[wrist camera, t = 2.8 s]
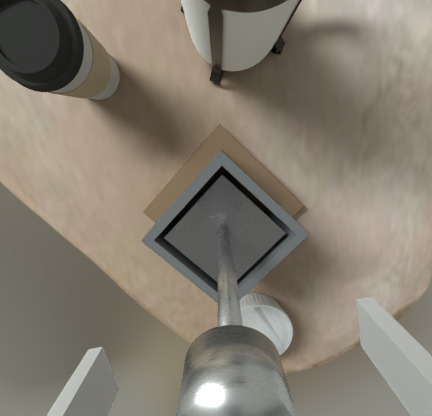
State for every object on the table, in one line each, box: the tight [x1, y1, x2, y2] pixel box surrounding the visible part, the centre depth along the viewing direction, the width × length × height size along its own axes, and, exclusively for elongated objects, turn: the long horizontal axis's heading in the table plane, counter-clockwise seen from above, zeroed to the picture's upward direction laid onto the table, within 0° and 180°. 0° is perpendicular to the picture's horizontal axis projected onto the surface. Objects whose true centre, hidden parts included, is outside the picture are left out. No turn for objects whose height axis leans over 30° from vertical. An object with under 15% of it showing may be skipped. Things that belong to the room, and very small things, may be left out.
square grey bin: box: [141, 124, 309, 303], centre depth 35 cm, size 18×18×14 cm
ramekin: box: [239, 293, 293, 355], centre depth 45 cm, size 11×11×5 cm
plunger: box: [164, 174, 297, 416], centre depth 19 cm, size 10×10×22 cm
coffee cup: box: [0, 0, 120, 100], centre depth 31 cm, size 9×9×15 cm
